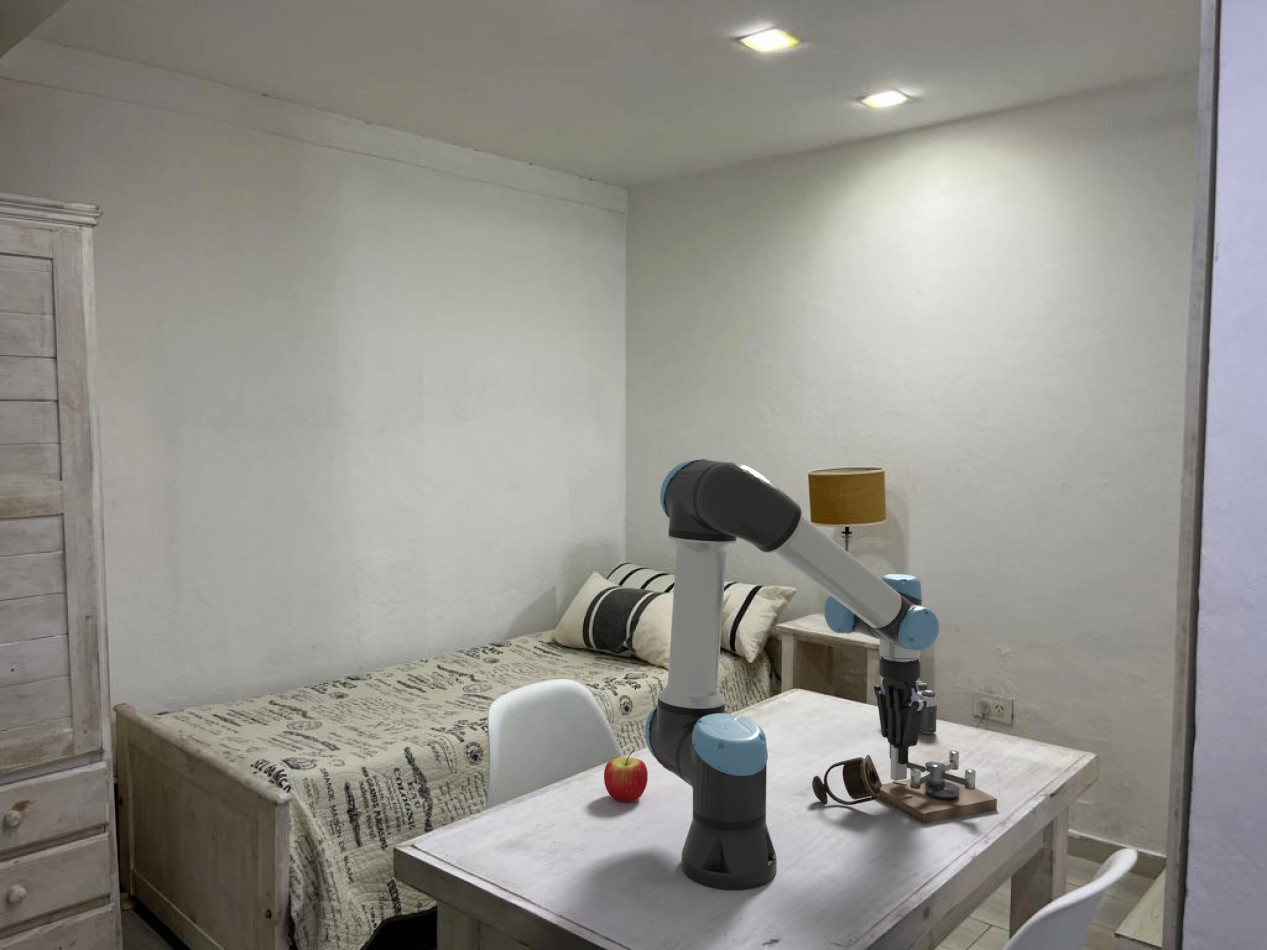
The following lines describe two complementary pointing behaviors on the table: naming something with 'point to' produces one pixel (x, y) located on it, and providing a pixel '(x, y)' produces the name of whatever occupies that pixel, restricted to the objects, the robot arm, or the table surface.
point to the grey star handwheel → (940, 777)
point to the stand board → (935, 802)
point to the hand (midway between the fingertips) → (898, 778)
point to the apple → (625, 778)
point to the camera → (927, 708)
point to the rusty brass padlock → (852, 781)
